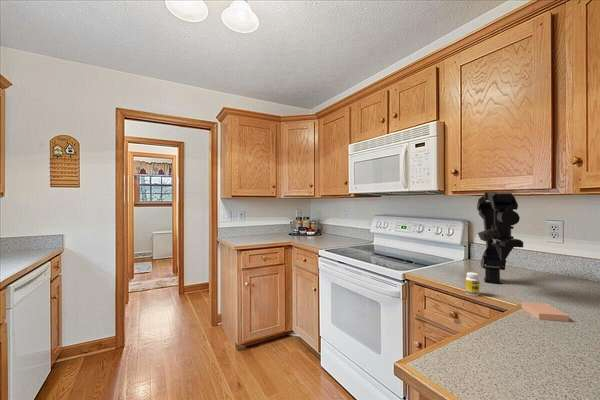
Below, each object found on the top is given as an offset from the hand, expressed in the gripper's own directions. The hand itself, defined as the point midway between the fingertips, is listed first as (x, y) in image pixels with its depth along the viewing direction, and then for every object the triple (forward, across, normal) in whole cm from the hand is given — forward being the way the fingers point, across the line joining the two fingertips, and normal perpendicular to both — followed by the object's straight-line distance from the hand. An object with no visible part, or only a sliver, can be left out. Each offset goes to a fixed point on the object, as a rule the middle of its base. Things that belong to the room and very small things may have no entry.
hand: (502, 261), depth 114 cm
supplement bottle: (+13, +4, -13) cm, 19 cm away
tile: (+12, +16, +3) cm, 20 cm away
